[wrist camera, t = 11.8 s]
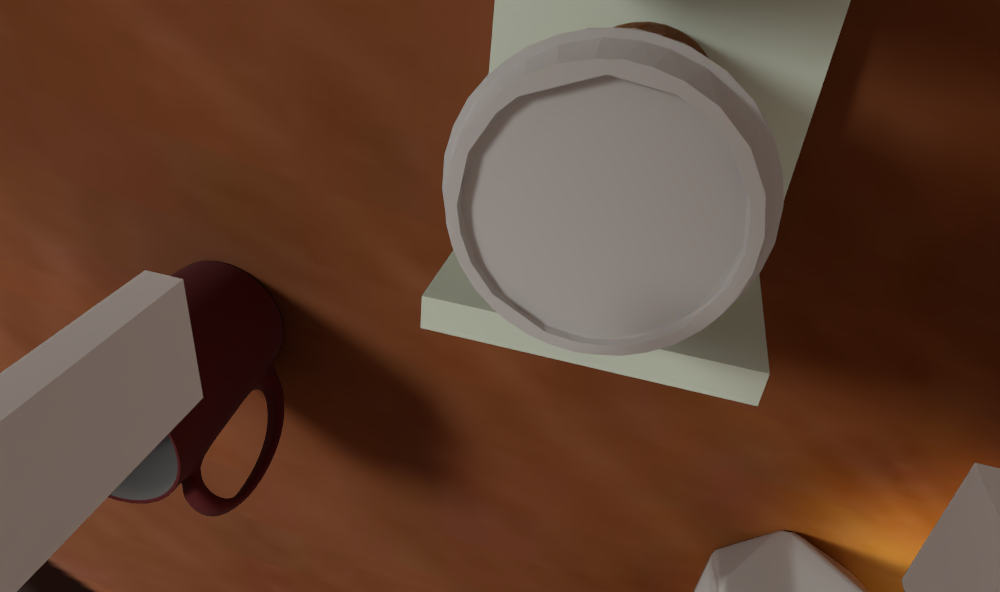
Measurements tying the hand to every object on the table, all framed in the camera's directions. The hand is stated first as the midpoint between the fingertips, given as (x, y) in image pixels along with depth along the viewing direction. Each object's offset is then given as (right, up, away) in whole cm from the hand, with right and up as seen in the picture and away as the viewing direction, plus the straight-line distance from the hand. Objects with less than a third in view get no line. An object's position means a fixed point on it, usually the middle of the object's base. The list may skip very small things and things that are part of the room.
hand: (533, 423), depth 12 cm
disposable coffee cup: (+5, +10, +17) cm, 21 cm away
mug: (-16, 0, +31) cm, 35 cm away
